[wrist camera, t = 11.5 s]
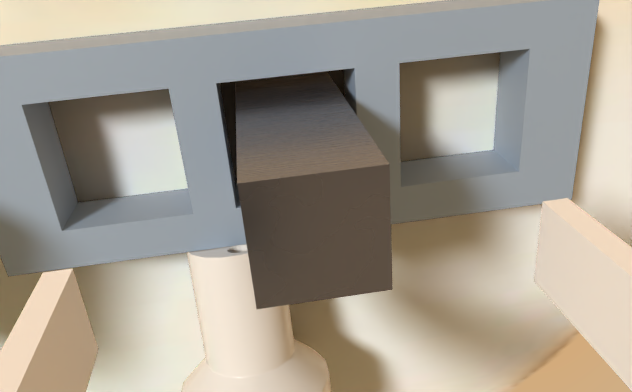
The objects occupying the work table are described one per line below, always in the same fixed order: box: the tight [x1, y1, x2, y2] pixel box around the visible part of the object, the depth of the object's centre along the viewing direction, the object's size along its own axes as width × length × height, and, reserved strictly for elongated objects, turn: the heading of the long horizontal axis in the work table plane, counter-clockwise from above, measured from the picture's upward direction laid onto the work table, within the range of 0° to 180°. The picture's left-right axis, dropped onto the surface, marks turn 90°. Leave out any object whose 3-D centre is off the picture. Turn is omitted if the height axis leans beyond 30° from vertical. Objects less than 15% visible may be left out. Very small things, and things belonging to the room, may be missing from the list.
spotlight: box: [181, 244, 332, 392], centre depth 29 cm, size 8×11×8 cm
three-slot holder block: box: [0, 0, 599, 276], centre depth 27 cm, size 28×10×3 cm, turn 94°
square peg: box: [235, 72, 392, 309], centre depth 23 cm, size 4×4×12 cm
